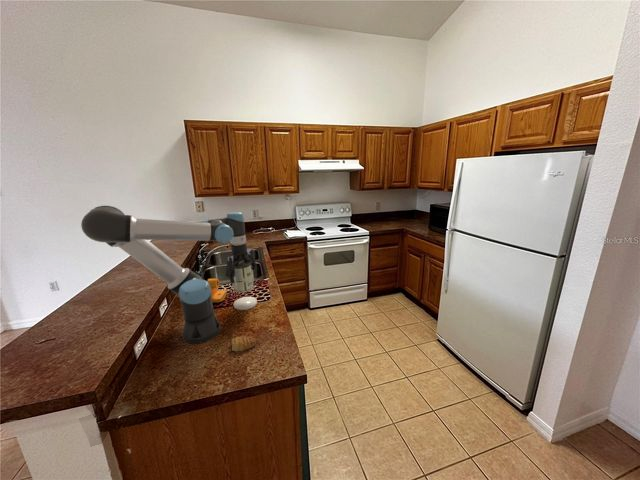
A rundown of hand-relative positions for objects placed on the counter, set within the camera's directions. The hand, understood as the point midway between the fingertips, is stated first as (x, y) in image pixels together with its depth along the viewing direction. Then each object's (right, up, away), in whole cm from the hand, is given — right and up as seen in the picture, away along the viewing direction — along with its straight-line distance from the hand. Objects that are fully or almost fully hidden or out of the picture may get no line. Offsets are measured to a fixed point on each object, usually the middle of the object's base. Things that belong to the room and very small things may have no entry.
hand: (243, 284), depth 134 cm
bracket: (-17, -10, +10) cm, 22 cm away
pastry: (+8, -20, -29) cm, 37 cm away
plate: (0, -11, +3) cm, 12 cm away
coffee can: (0, -2, +1) cm, 2 cm away
